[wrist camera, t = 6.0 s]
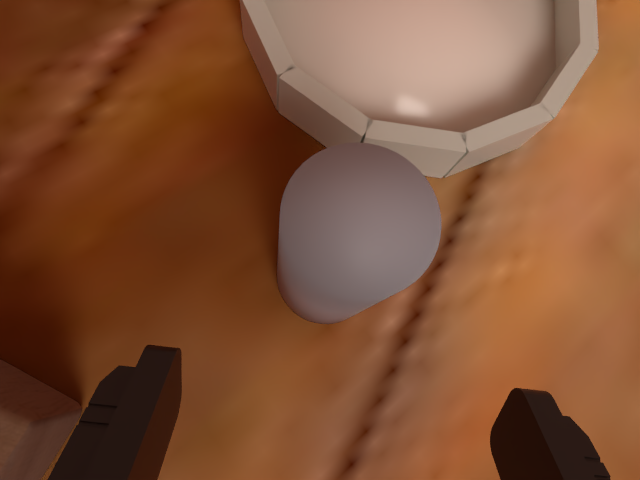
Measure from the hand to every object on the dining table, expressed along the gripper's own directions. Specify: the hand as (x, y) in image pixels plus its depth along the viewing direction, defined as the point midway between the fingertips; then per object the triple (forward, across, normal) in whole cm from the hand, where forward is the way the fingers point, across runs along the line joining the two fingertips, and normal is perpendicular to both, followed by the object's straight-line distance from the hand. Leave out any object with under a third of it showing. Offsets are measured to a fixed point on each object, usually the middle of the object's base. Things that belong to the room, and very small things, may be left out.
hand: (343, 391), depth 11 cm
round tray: (+20, -3, -7) cm, 21 cm away
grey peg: (+10, 0, +3) cm, 10 cm away
